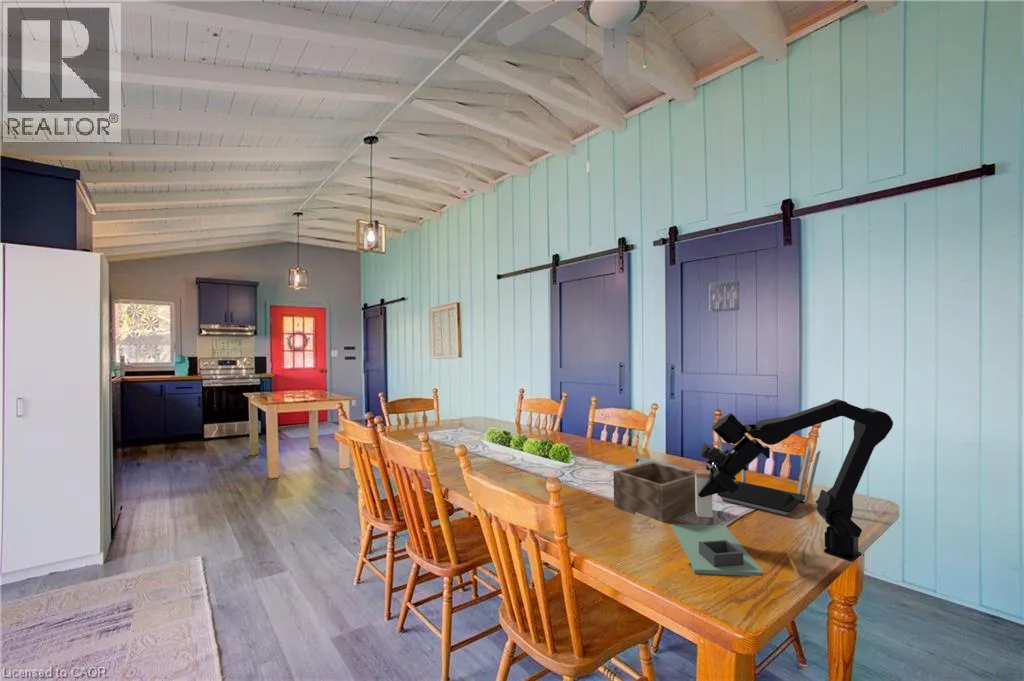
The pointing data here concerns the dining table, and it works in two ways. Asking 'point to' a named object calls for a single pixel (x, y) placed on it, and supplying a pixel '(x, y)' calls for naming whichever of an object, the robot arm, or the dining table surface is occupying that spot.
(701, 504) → the plug
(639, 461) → the decorative block
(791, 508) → the wireless router
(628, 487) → the open wooden crate
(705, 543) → the dark grey tray
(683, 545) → the board
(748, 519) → the dining table surface
